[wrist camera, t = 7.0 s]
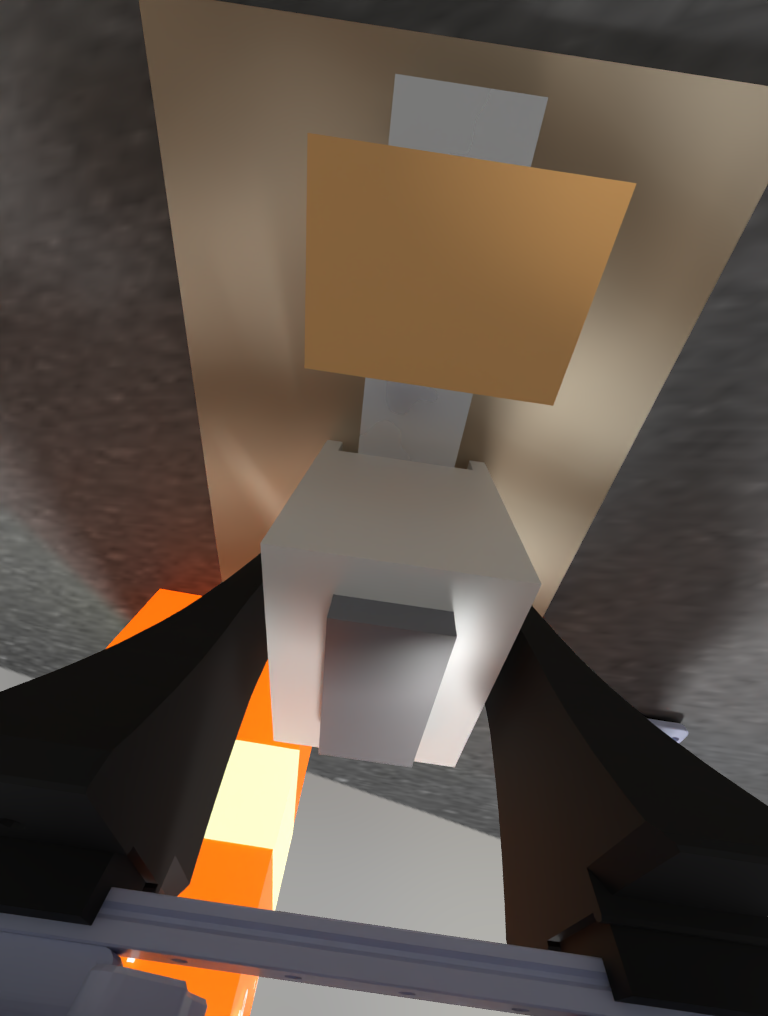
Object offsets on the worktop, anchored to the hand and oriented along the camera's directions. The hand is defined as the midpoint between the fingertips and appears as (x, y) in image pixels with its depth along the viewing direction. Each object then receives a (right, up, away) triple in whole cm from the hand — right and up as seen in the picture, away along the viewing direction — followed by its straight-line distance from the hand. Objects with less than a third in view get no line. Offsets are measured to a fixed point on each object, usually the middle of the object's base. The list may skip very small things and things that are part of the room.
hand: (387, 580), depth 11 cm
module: (0, +1, +2) cm, 2 cm away
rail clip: (+1, +8, -3) cm, 8 cm away
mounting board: (+1, +5, +1) cm, 5 cm away
